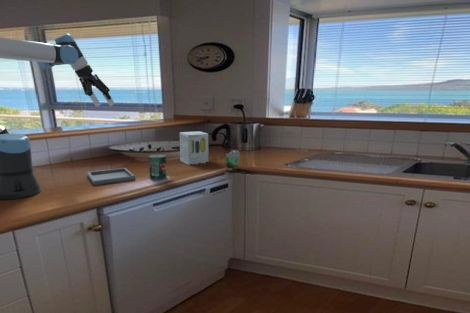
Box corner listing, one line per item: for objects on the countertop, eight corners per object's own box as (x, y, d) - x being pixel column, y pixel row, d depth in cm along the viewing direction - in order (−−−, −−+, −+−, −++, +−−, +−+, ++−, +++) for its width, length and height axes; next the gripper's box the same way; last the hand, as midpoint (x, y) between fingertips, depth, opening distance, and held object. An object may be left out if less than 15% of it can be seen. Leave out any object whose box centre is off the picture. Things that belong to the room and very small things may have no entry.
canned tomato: (149, 176, 152) (148, 154, 150) (165, 175, 155) (164, 153, 152) (150, 180, 145) (149, 157, 142) (167, 179, 147) (166, 156, 145)
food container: (237, 172, 161) (237, 154, 159) (225, 172, 163) (225, 153, 161) (241, 167, 173) (241, 149, 171) (230, 166, 174) (231, 149, 172)
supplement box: (187, 165, 177) (187, 134, 173) (179, 160, 188) (179, 132, 184) (208, 162, 183) (208, 133, 180) (199, 158, 194) (199, 131, 191)
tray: (135, 179, 146) (134, 175, 145) (93, 185, 136) (93, 181, 136) (125, 171, 161) (125, 167, 160) (87, 175, 151) (87, 172, 151)
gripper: (100, 60, 145) (124, 100, 156) (75, 66, 160) (98, 102, 171) (88, 68, 140) (113, 108, 151) (63, 73, 156) (87, 109, 167)
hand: (105, 105), depth 161 cm, fingers open, 13 cm apart
